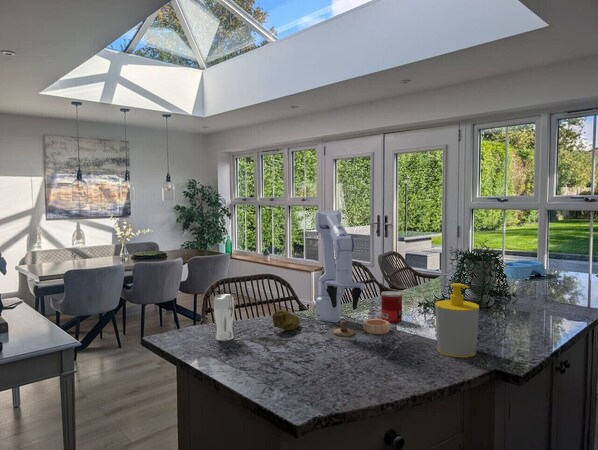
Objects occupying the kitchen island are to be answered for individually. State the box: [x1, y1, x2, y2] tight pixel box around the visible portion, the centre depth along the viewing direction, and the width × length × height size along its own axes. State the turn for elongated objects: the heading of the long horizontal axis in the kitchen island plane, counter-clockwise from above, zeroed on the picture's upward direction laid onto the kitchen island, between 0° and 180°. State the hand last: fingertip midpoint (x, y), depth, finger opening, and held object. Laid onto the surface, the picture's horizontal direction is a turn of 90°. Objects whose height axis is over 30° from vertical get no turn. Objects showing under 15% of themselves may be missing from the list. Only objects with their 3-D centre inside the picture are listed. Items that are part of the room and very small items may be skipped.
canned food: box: [380, 290, 403, 324], centre depth 170 cm, size 8×8×11 cm
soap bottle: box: [434, 282, 480, 358], centre depth 135 cm, size 13×13×21 cm
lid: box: [333, 319, 355, 337], centre depth 153 cm, size 8×8×4 cm
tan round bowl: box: [362, 318, 391, 335], centre depth 157 cm, size 9×9×3 cm
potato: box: [271, 309, 300, 331], centre depth 160 cm, size 8×13×8 cm, turn 127°
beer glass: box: [213, 293, 235, 342], centre depth 151 cm, size 7×7×15 cm
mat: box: [321, 326, 367, 342], centre depth 153 cm, size 12×12×1 cm
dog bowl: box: [503, 260, 547, 280], centre depth 264 cm, size 34×19×8 cm, turn 119°
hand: (344, 308), depth 153 cm, fingers open, 7 cm apart
